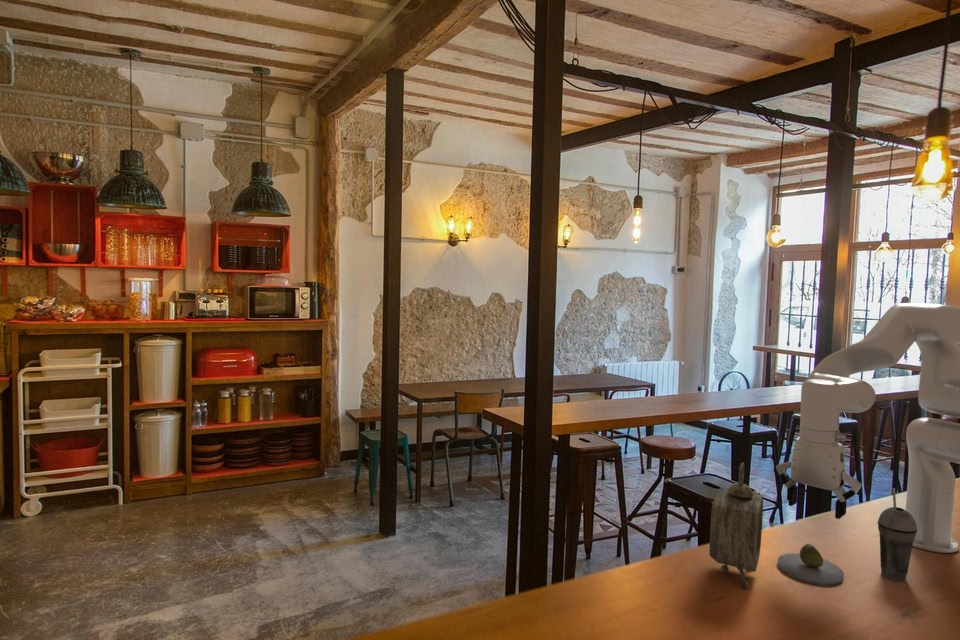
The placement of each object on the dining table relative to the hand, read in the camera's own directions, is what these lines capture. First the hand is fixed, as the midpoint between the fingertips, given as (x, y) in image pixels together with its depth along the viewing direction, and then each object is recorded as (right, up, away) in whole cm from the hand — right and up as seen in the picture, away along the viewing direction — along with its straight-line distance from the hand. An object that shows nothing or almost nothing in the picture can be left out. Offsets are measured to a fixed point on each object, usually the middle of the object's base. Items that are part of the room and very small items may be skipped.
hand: (815, 510), depth 134 cm
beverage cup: (+17, -15, -1) cm, 22 cm away
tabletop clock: (-19, -14, -2) cm, 24 cm away
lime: (-1, -13, +1) cm, 13 cm away
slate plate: (-1, -14, +1) cm, 14 cm away
